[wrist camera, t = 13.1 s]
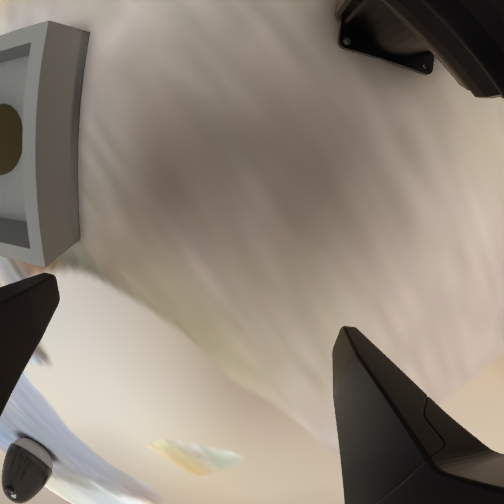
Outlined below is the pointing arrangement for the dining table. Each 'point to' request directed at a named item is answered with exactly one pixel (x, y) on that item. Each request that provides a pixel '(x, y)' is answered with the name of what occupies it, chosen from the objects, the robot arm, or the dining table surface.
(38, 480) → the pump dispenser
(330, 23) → the dining table surface
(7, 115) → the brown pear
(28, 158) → the tray
